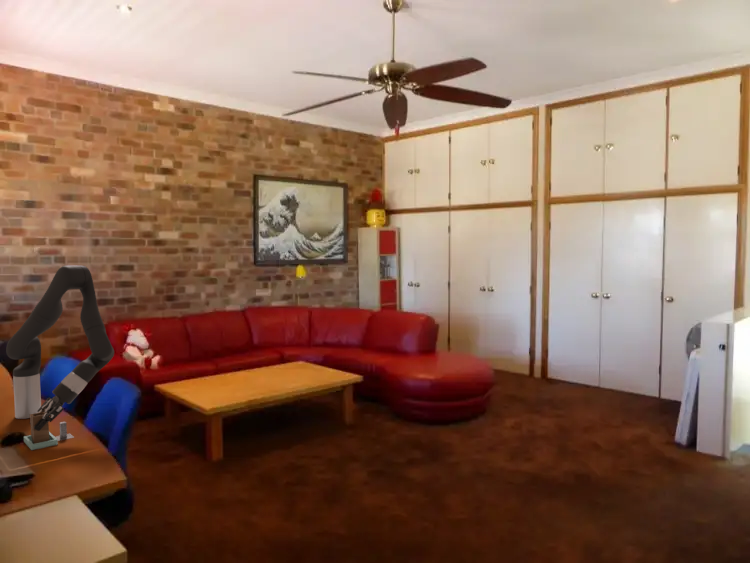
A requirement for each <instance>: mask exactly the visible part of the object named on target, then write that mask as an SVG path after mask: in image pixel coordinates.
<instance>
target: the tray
mask: <svg viewBox="0 0 750 563" xmlns="http://www.w3.org/2000/svg"><path fill="white" fill-rule="evenodd" d="M55 437H56V436H55V435H53V433H51V432H50V431H49V440H50V441H45V442H40V443H36V444H33V443H32V439H31V434H29V435H24V436H23V443H25V445H26V446H27V447H28V449H29V450H30V451H36V450H39V449H44V448H48V447H54V446H58V443H59V441H58V439H56V438H55Z"/></svg>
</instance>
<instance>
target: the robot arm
mask: <svg viewBox="0 0 750 563" xmlns="http://www.w3.org/2000/svg"><path fill="white" fill-rule="evenodd" d="M71 290H79V291H80V293H81V295H82V306H81V311H80V323H81V326H82V329H83V331H84V335H85V336H86V338H87V341H88V345H89V348H90V351H91V354H89V356H88V357H87V358H86V359H84V360H82V361H80V362H79V363H77V365H76V366H75V367H74V368H73V369H72V370H71V372H70V373H68V374H67V375H66V376H65V377H63V379H62V380H61V381H60V382H59V383H58V384H57V385H56V387H55V388H54V389H53V390H52V391H51V392H52V395H54V396H53V397H52V398H51V397H48V398H46V399H45V401H44V402H43V403H42V399H41V397H42V396H41V395H42V394H41V393H42V392H41V377H40V376H41V375H40V374H41V373H40V369H41V367H42V366H41V365H42V343H41V340H40V339H39V337H38V336H40V335H42V334H44V333H45V332H46V331H48V330H49V329H51V327H53V326H54V325H55V324H56V322H58V320H59V318H61V315H62V314H63V311H64V310H63V303H62V302H63V301H62V298H63V297H64V295H65V294H66V292H68V291H71ZM5 349H6V351H5V353H6V356H7V357H8V358H9V359H10V360H16V361H17V360H22V362H21V363H20V364H19V365H17V366H16V367H14V368H13V370H12V377H13V378H12V379H13V380H12V382H13V395H14V396H13V398H14V417H15V419H17V420H18V419H19V420H20V419H21V420H22V419H30V414H34V413H40V412H45V414H44V416H43V417H42V419H40V421H39V422H38V423H37V424H36V425H35V426H34V429H36V430H37V431H40V430H41V429H42V427H43V426H44V425H45V424H46V423H47V422H48V423H52V422H53V421H54V420H55V419H56V418H57V417H58V416H59V415H60V414H61V413H62V412H63V411H64V409H65V408H64V407H63V406H64V405H65V403H66V404H68V405H70V404H72V403H73V402H74V400H75V399H76V398H77V397H78V396H79V394H80V393H81V392H82V391H83V390H84V389H85V388H86V387H87V385H88V383H90V382H91V381H92V379H93V378H94V377H95V376H96V375H97V373H98V372H99V371H101V370H102V369H103V368H104V367H105V366H106V365H108V364H109V362H111V360H112V359H113V357H114V356H115V350H114V347H113V346H112V344H111V341H110V339H109V336H108V334H107V330H106V326H105V324H104V321H103V318H102V316H101V312H100V309H99V306H98V301H97V296H96V290H95V285H94V280H93V276H92V273H91V271H90V269H89V268H88V267H87V266H85V265H78V264H77V265H76V264H73V265H71V264H69V265H68V264H67V265H62V266H61V267H59V268H58V270H56V272H55V274H54V276H53V278H52V280H51V282H50V284H49V286H48V288H47V289H46V291H45V292H44V294H43V295H42V297H41V299H40V300H39V301H38V303H37V304H36V305H35V307H34V309H33V310H32V312H31V313H30V314H29V316H28V317H27V319H25V321H24V322H23V324H22V325H21V326H20V328H19V329H18V330H17V331H16V332H15V333H14V334H13V335H12V337H10V339H9V340H8V342H7V344H6V348H5ZM29 424H30V423H29ZM29 426H31V424H30V425H29Z"/></svg>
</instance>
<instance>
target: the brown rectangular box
mask: <svg viewBox="0 0 750 563" xmlns="http://www.w3.org/2000/svg"><path fill="white" fill-rule="evenodd" d="M44 414H45V412H40V413H34V414H30V418H29V421H30V422H29V424H31V425H30V435H31V439H32V443H33V444H36V443H40V442H45V441H50V440H49V432H50V427H49V426H50V425H49V422H47V423H46V424H45V425H44V426H43V427H42V429H41V430H40V431H37V430H36V429H34V426H35V425H36V424H37V423H38V422H39V421H40V419H42V417H43V416H44Z"/></svg>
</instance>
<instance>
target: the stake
mask: <svg viewBox="0 0 750 563" xmlns="http://www.w3.org/2000/svg"><path fill="white" fill-rule="evenodd" d="M67 428H68V427H67V422H66V421H61V422H59V435H56V436H54V437H55V438H56V439H58V442H60V441H65V440H69V439H73V438H74V439H75V436H74V435H72V434H71V433H67V432H68V431H67V430H68V429H67Z"/></svg>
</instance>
